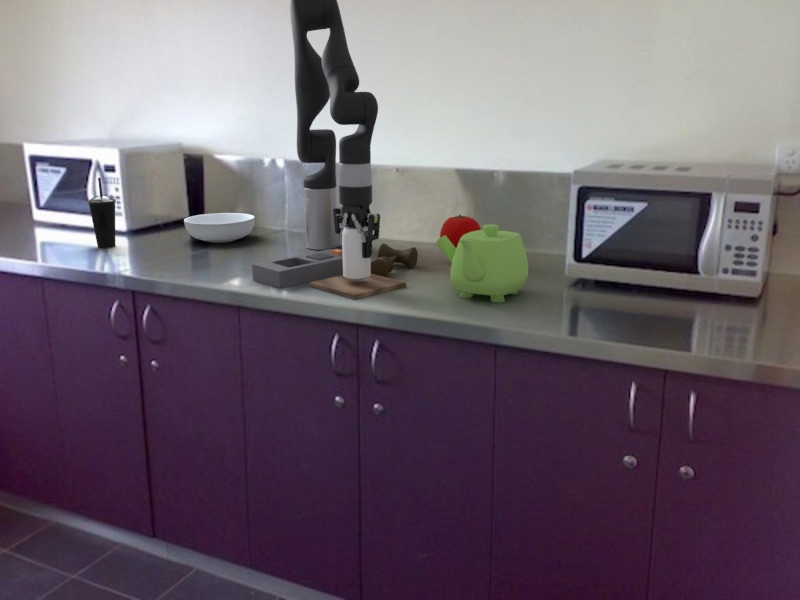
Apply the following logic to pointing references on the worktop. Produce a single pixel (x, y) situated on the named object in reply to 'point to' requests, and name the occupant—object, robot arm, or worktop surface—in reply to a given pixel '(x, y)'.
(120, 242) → the worktop surface
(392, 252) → the kendama
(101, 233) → the drinking cup
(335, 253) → the grey block with hole
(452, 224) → the tomato
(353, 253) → the can
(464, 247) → the teapot
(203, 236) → the serving bowl
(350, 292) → the walnut board
